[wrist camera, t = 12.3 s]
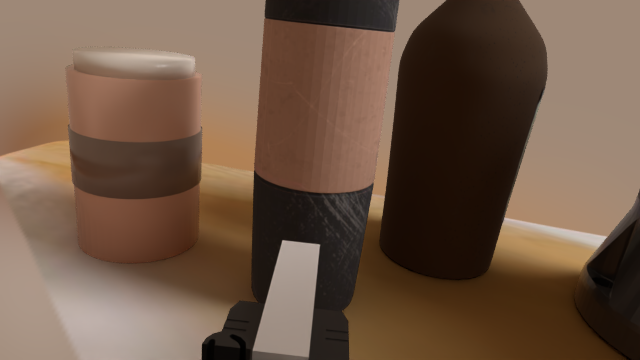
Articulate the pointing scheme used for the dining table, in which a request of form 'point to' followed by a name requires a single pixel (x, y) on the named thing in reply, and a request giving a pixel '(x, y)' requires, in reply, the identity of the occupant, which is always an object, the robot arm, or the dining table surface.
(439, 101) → the olive oil
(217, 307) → the dining table surface
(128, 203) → the terracotta canister
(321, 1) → the travel mug
